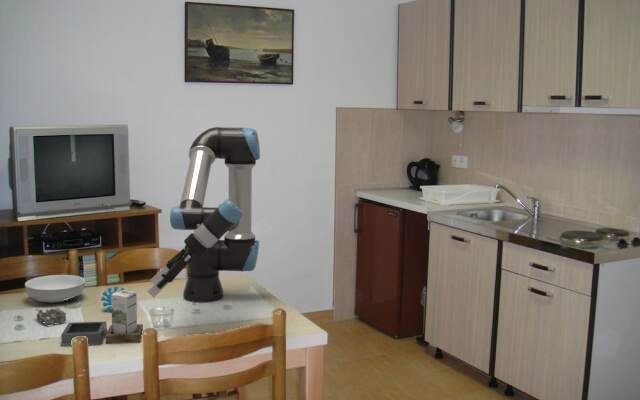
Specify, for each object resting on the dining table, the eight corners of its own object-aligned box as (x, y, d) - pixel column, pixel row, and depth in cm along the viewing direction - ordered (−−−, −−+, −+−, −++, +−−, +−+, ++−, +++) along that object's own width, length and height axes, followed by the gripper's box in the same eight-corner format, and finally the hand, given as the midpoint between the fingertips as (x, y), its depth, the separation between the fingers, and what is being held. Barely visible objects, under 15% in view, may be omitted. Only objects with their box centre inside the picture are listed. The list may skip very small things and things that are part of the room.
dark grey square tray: (107, 331, 212) (107, 321, 211) (101, 344, 200) (101, 333, 200) (68, 333, 210) (68, 322, 209) (60, 346, 198) (60, 334, 198)
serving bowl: (25, 310, 232) (24, 291, 231) (25, 294, 251) (25, 277, 250) (87, 304, 240) (87, 286, 240) (83, 289, 259) (83, 272, 259)
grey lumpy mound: (34, 320, 223) (34, 308, 222) (57, 315, 228) (56, 304, 227) (45, 328, 215) (44, 315, 214) (68, 323, 220) (68, 311, 219)
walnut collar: (142, 331, 213) (142, 323, 212) (139, 342, 203) (139, 334, 203) (110, 332, 211) (110, 325, 211) (105, 343, 201) (105, 335, 201)
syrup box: (138, 335, 209) (137, 291, 207) (127, 341, 203) (126, 295, 201) (122, 333, 210) (121, 289, 209) (111, 339, 205) (110, 293, 203)
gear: (101, 309, 229) (102, 284, 235) (98, 317, 233) (99, 293, 239) (134, 310, 234) (133, 286, 240) (131, 318, 238) (130, 294, 244)
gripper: (192, 225, 218) (146, 270, 217) (191, 239, 194) (139, 291, 193) (209, 241, 220) (163, 286, 219) (210, 257, 195) (158, 308, 195)
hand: (152, 288), depth 206 cm, fingers open, 13 cm apart
